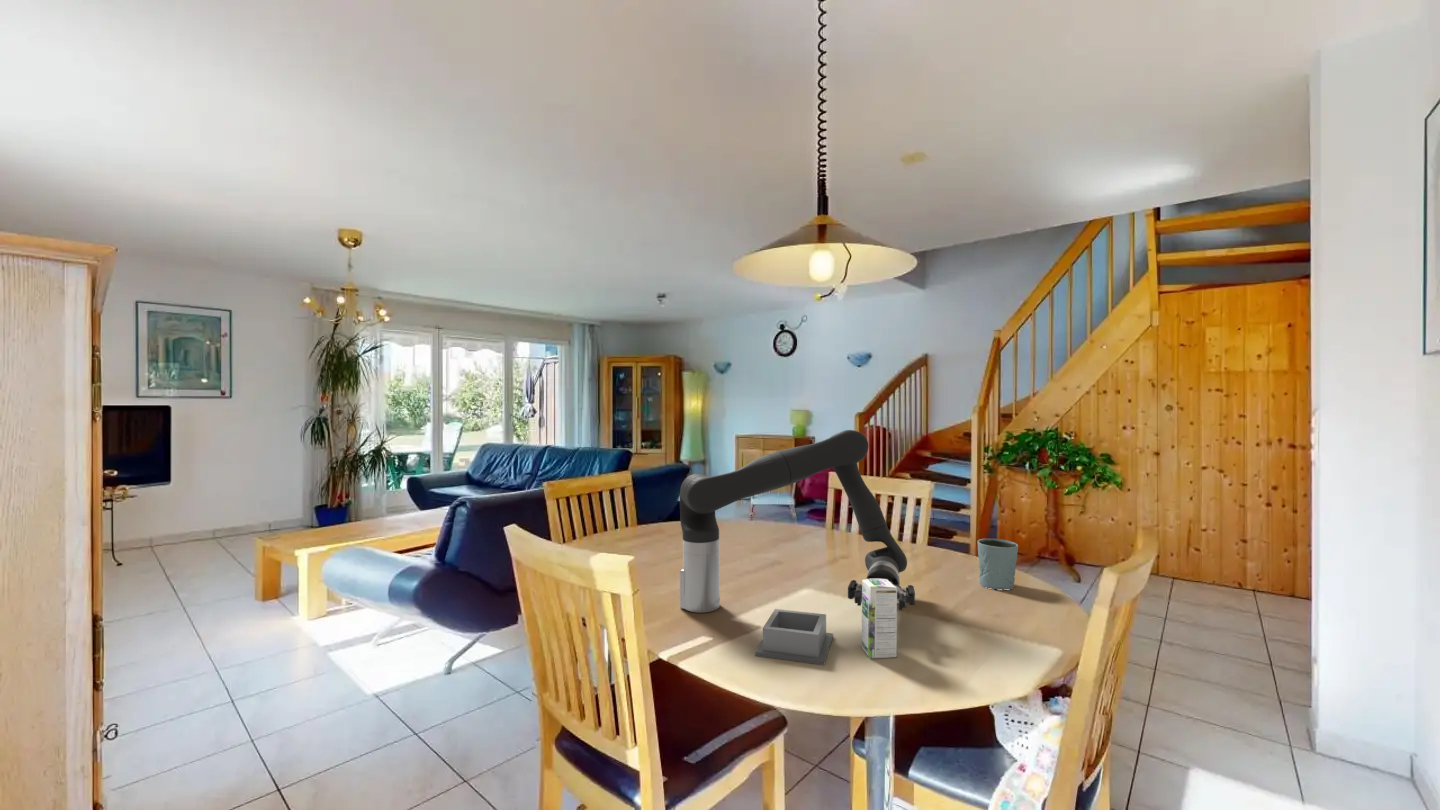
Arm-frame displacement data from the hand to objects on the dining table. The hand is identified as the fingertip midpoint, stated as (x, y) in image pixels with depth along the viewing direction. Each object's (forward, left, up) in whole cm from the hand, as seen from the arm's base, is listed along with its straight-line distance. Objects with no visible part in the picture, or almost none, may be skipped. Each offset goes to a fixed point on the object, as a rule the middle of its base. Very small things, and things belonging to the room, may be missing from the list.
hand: (879, 603), depth 123 cm
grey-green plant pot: (+29, +50, -9) cm, 58 cm away
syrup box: (0, -3, -9) cm, 10 cm away
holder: (-17, -5, -9) cm, 20 cm away
